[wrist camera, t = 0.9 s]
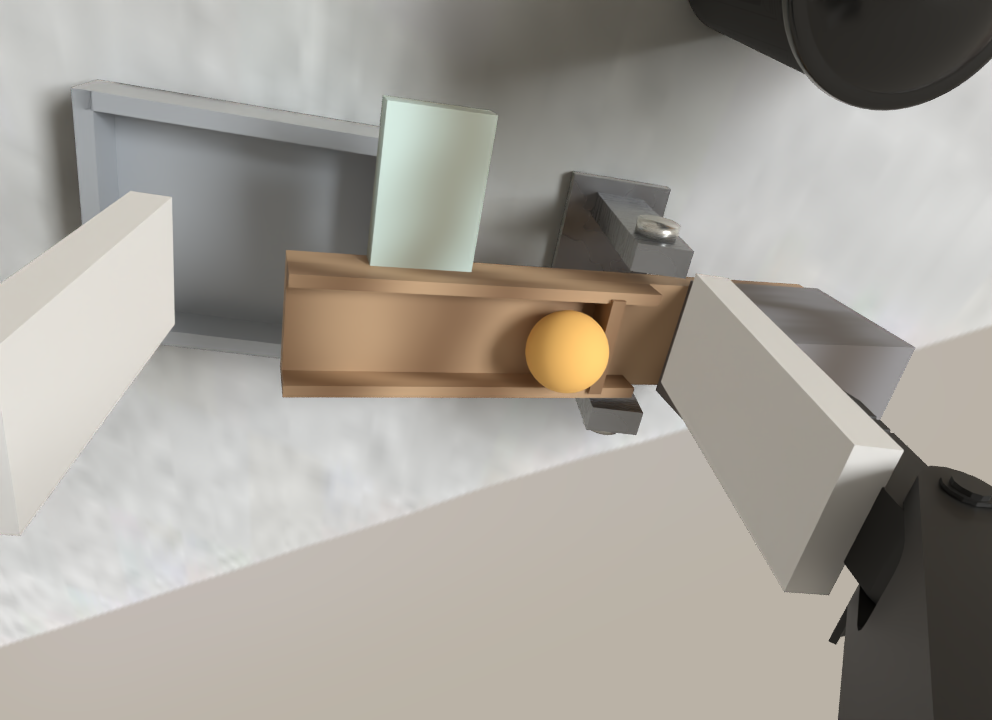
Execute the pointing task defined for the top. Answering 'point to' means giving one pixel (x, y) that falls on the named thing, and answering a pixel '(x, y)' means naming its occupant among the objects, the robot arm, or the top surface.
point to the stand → (618, 258)
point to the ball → (567, 351)
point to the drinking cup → (864, 43)
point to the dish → (227, 198)
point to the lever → (506, 294)
